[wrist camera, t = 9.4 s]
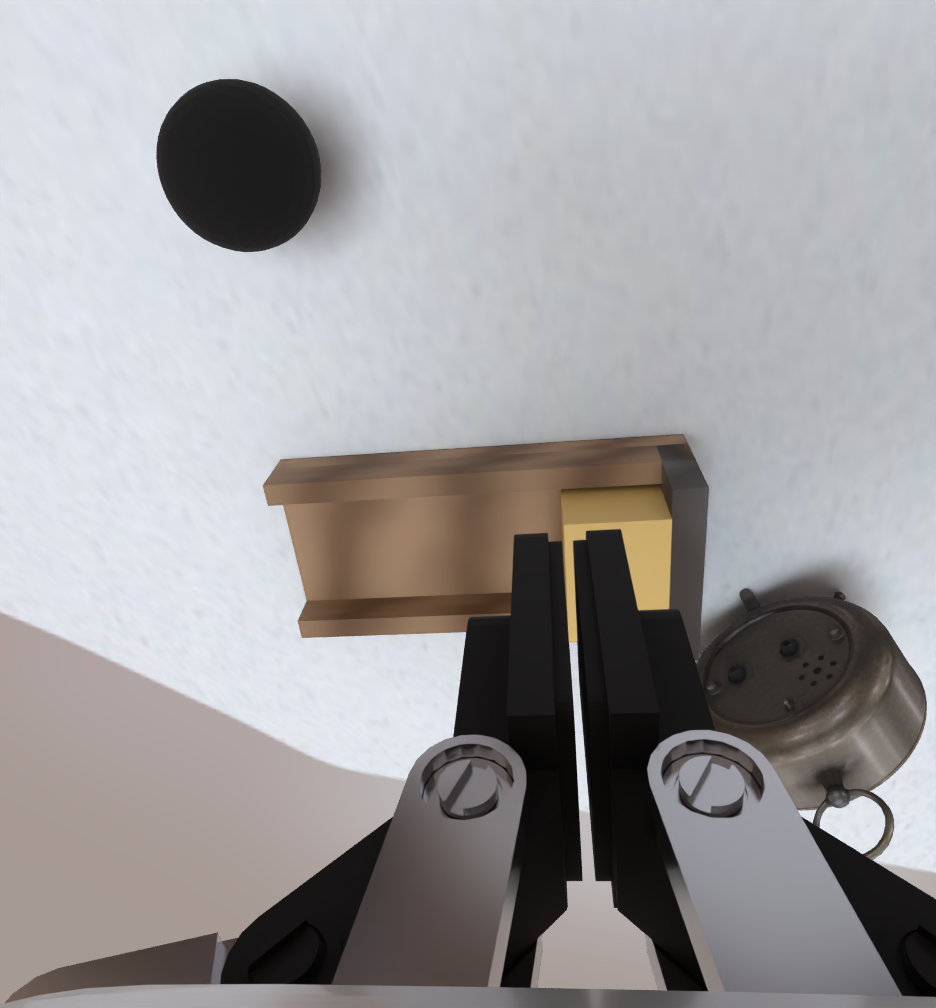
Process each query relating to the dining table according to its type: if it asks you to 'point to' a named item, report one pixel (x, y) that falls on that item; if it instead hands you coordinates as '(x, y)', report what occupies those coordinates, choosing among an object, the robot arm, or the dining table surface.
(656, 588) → the block
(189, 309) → the dining table surface
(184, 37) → the dining table surface
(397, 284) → the dining table surface
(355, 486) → the wooden tray
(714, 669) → the alarm clock
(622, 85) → the dining table surface
